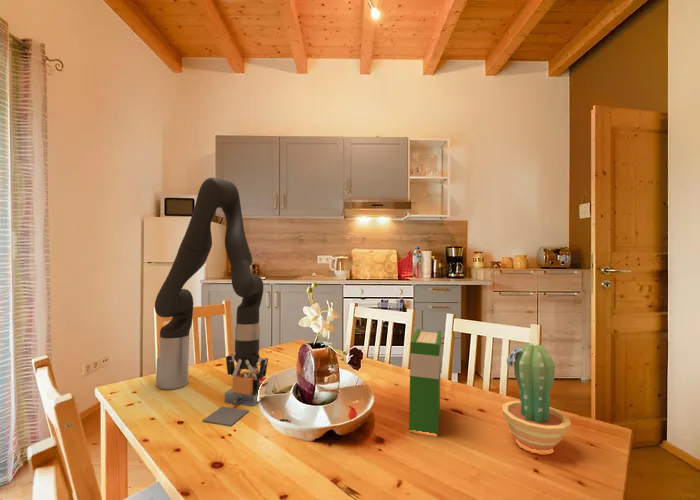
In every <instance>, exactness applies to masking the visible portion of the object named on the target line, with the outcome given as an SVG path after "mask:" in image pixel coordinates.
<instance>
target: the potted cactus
mask: <svg viewBox="0 0 700 500" xmlns="http://www.w3.org/2000/svg"><path fill="white" fill-rule="evenodd" d="M512 349H513V350H512V351H511V352H510V353H509V355H508V357H507V359H506V364H507V367H508V370H511V368H512V367H513V368H514V376H515V378H516V382H517V385H518V390H519V400H510V401H507V402H505V403H503V404H502V413H503V414H502V415H503V417H504V418H505V419H506V422H507V425H508V427H509V430H510V432H511V433H512V435H513V436H514V439H515V438H516V439H517V440H518V441H519V442H520V443H521V444H523V445H525V446H527V447H529V448H531V449H536V450H550V449H552V448H553V447H554V448H555V447H556V446H557V445H558V444H559V443H560V442H561V441H562V439H563V437H564V435H565V433H566V432H567V431H569V430H570V428H571V426H572V425H571V424H572V422H571V420H570V418H569V416H568V415H567V414H565V413H563V412H562V411H561V410H559V409H557V408H554V407H552V406H550V405H551V404H550V402H551V401H550V400H551V397H550V396H551V389H552V387H553V384H554V381H555V371H556V364H555V362H554V360H553V358H552V357H551V355H550V354H549V352H548V351H547V350H546V347H544V345H543V346H542V345H541V344H535V345H534V344H533V343H529V344H526V343H525V344H524V345H523V346H516V347H514V348H512Z"/></svg>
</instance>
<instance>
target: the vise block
mask: <svg viewBox="0 0 700 500" xmlns="http://www.w3.org/2000/svg"><path fill="white" fill-rule="evenodd" d="M242 372H243V377H245V378H249V377H250V371H249V370H248V371H242ZM258 390H259V389H258ZM258 390H257V391H256V392H252V393H251V394H242V393H235V392H232V387H231V388H230V389H228V390H227V391H225V392H224V403H226V404H232V405H233V406H235V405H239V406H247V407H248V406H249V407H255V406H256V405H257V404H258V403H257V396H258Z"/></svg>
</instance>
